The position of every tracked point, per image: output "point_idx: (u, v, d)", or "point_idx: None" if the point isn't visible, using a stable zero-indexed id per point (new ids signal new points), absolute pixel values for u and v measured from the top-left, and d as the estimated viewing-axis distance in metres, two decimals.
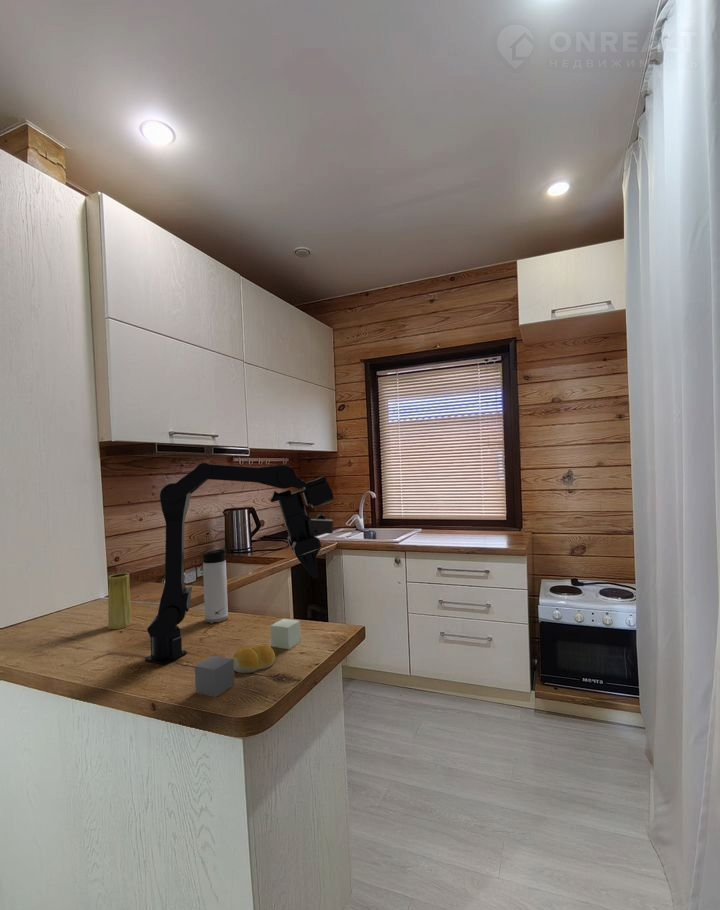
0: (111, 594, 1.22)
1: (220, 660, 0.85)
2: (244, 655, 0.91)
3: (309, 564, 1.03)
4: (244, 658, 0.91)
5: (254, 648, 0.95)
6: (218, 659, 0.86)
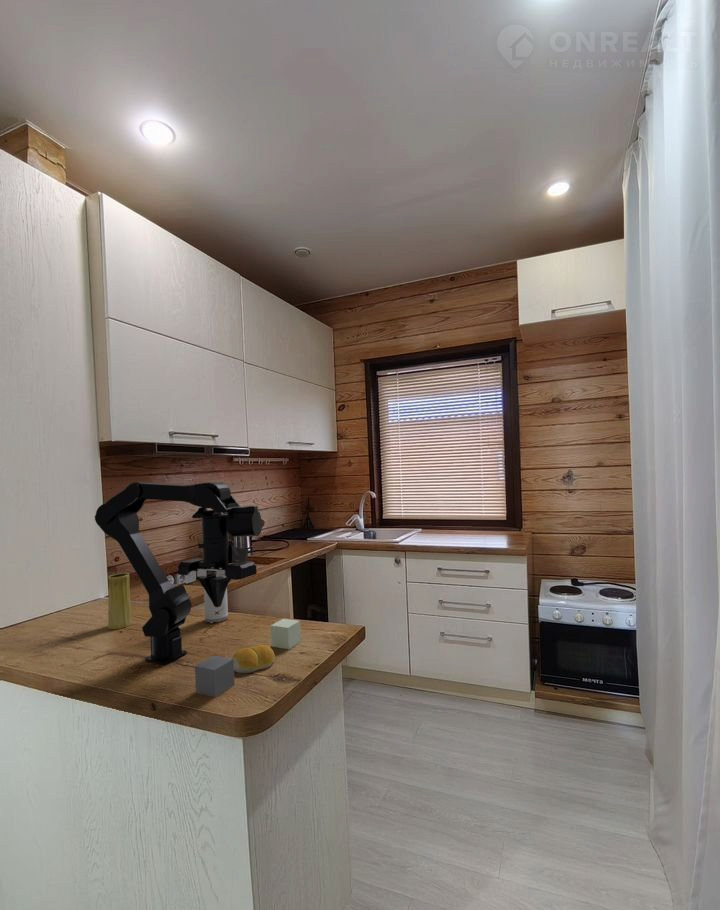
0: (111, 594, 1.22)
1: (220, 660, 0.85)
2: (243, 655, 0.91)
3: (220, 590, 0.98)
4: (243, 658, 0.91)
5: (254, 648, 0.95)
6: (218, 659, 0.86)
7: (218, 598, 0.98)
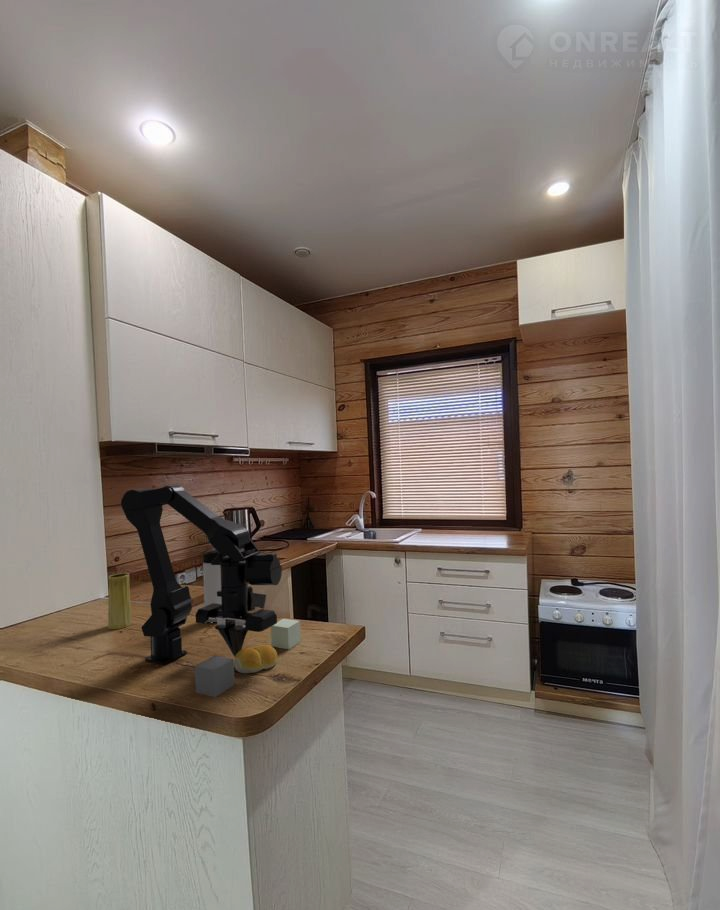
0: (111, 594, 1.22)
1: (221, 660, 0.85)
2: (246, 655, 0.91)
3: (239, 640, 0.95)
4: (247, 658, 0.91)
5: (256, 648, 0.95)
6: (218, 659, 0.86)
7: (237, 648, 0.95)
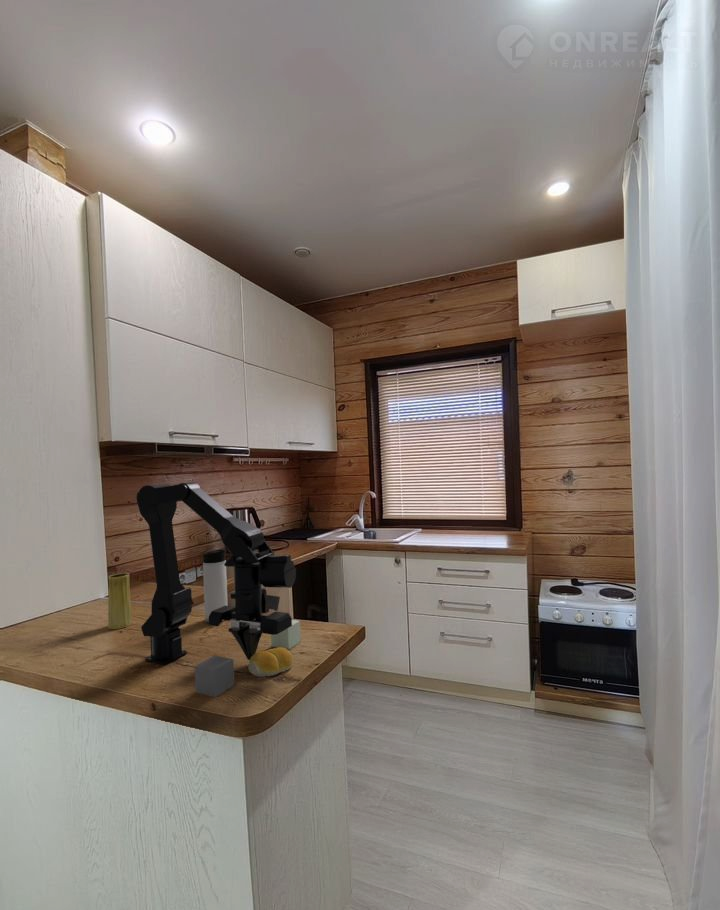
0: (111, 594, 1.22)
1: (220, 660, 0.85)
2: (263, 659, 0.89)
3: (253, 643, 0.94)
4: (264, 661, 0.89)
5: (271, 651, 0.93)
6: (218, 659, 0.86)
7: (251, 651, 0.93)
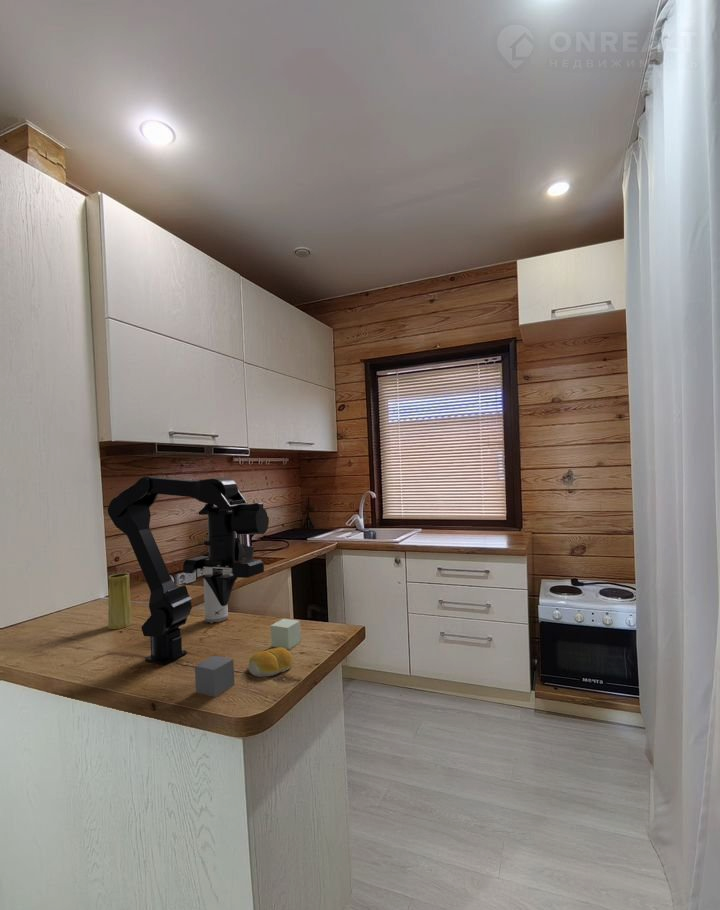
0: (111, 594, 1.22)
1: (220, 660, 0.85)
2: (263, 659, 0.89)
3: (226, 589, 0.96)
4: (264, 661, 0.89)
5: (271, 651, 0.93)
6: (218, 659, 0.86)
7: (224, 597, 0.96)
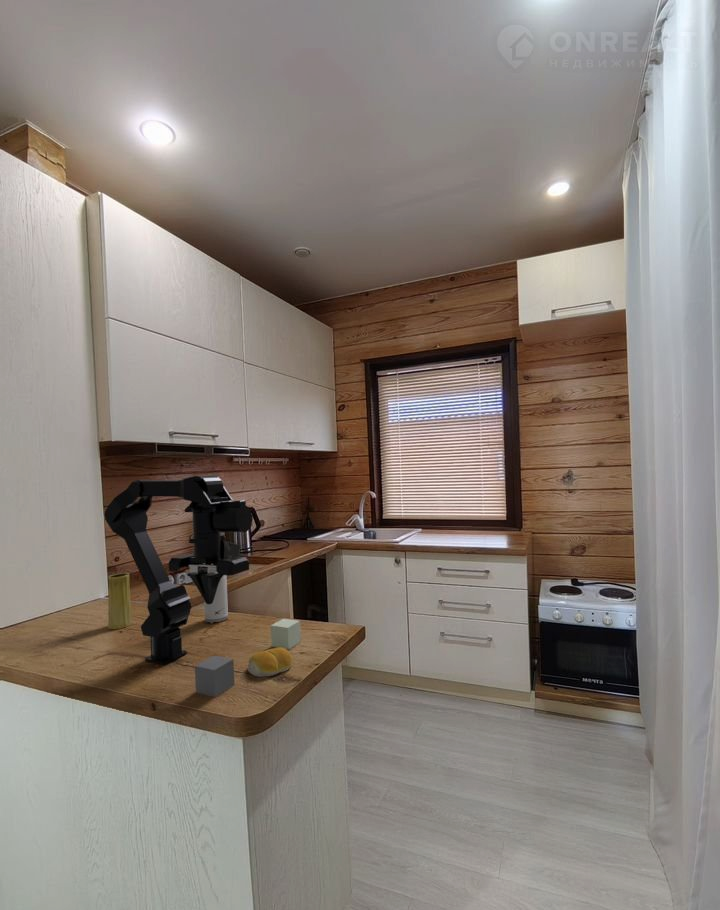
0: (111, 594, 1.22)
1: (220, 660, 0.85)
2: (262, 659, 0.89)
3: (211, 587, 0.95)
4: (263, 661, 0.89)
5: (270, 651, 0.93)
6: (218, 659, 0.86)
7: (210, 595, 0.95)
